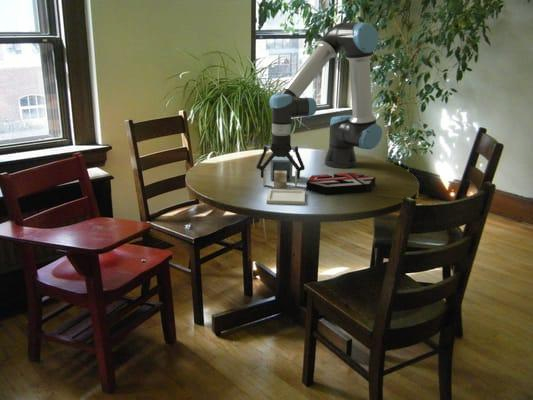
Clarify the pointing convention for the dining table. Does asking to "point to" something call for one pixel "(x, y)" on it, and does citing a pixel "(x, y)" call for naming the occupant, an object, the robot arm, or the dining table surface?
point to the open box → (281, 166)
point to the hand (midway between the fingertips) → (280, 185)
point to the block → (280, 179)
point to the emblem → (340, 184)
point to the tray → (286, 197)
